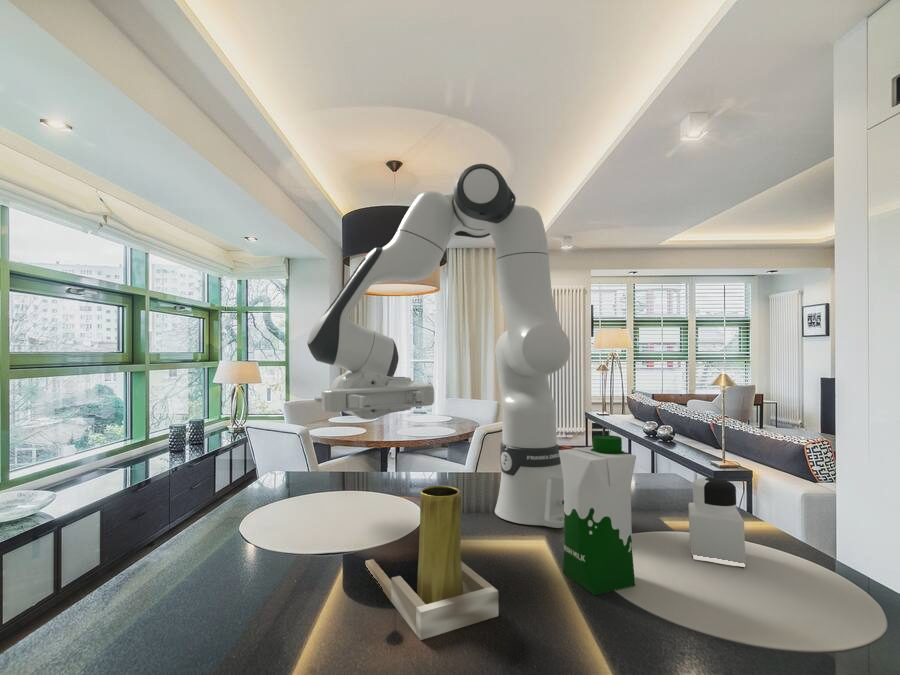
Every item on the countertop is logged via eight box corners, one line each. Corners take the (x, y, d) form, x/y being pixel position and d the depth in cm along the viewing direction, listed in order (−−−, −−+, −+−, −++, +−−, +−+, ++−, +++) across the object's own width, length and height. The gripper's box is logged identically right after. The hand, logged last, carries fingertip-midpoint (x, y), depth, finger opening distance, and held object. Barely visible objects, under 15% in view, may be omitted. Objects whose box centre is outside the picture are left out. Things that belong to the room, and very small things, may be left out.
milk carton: (645, 588, 62) (642, 440, 63) (592, 600, 59) (589, 445, 60) (601, 561, 70) (599, 431, 71) (552, 571, 67) (551, 435, 68)
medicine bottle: (738, 551, 74) (736, 477, 75) (746, 569, 68) (743, 488, 68) (689, 543, 77) (687, 472, 78) (692, 560, 71) (690, 482, 71)
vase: (455, 621, 54) (455, 499, 55) (408, 612, 56) (409, 494, 56) (469, 596, 60) (469, 486, 60) (426, 589, 61) (426, 482, 62)
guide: (427, 553, 73) (428, 534, 73) (498, 615, 55) (498, 590, 55) (365, 567, 68) (365, 547, 68) (420, 640, 50) (420, 612, 50)
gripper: (312, 381, 81) (330, 383, 69) (415, 377, 91) (447, 378, 79) (312, 416, 81) (330, 425, 69) (416, 408, 91) (448, 414, 79)
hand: (394, 400), depth 74 cm, fingers open, 8 cm apart
